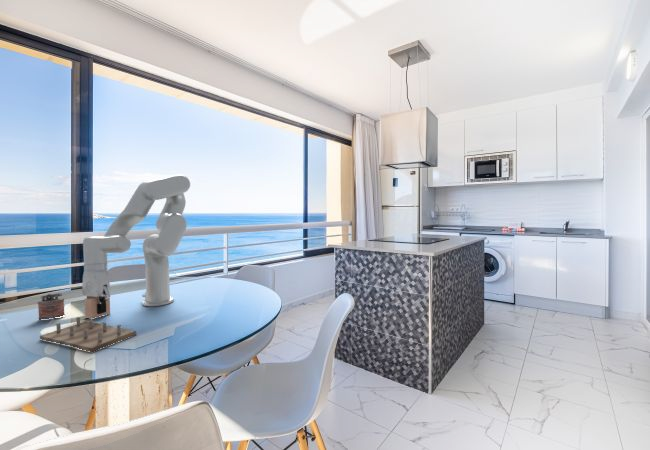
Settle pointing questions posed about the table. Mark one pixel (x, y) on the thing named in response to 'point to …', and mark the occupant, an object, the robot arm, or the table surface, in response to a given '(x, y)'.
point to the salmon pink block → (95, 307)
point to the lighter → (51, 306)
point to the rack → (88, 335)
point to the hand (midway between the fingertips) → (97, 311)
